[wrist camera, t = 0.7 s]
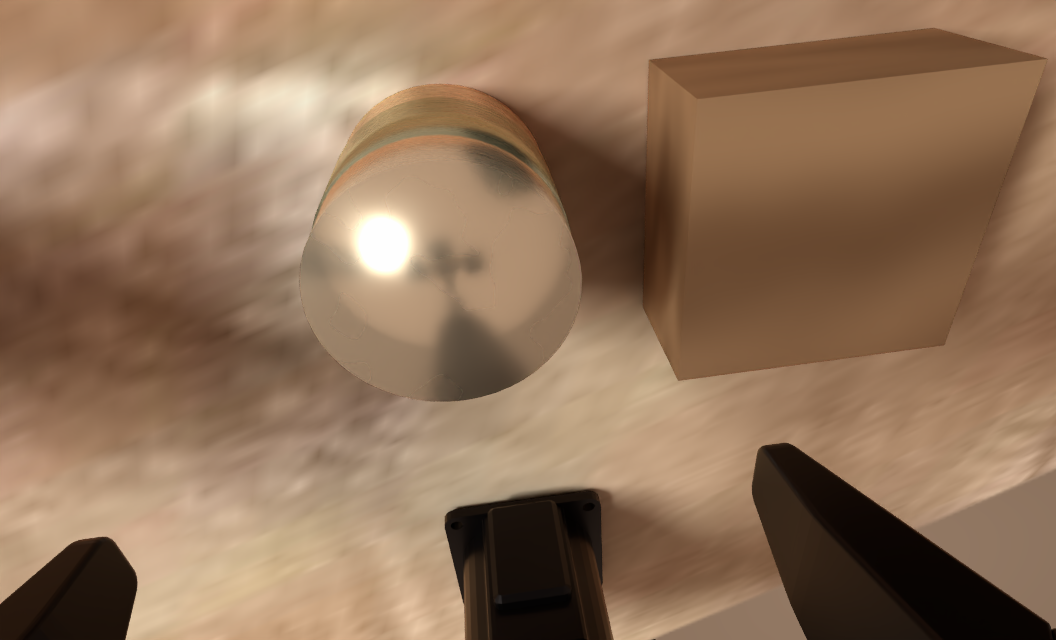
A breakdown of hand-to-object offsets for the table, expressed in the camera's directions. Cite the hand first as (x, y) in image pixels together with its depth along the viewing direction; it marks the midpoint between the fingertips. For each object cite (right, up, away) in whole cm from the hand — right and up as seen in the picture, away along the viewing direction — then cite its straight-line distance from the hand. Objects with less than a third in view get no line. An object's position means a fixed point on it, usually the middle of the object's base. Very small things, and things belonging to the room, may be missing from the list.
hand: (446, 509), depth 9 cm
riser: (+9, +7, +11) cm, 15 cm away
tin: (-1, +7, +10) cm, 12 cm away
